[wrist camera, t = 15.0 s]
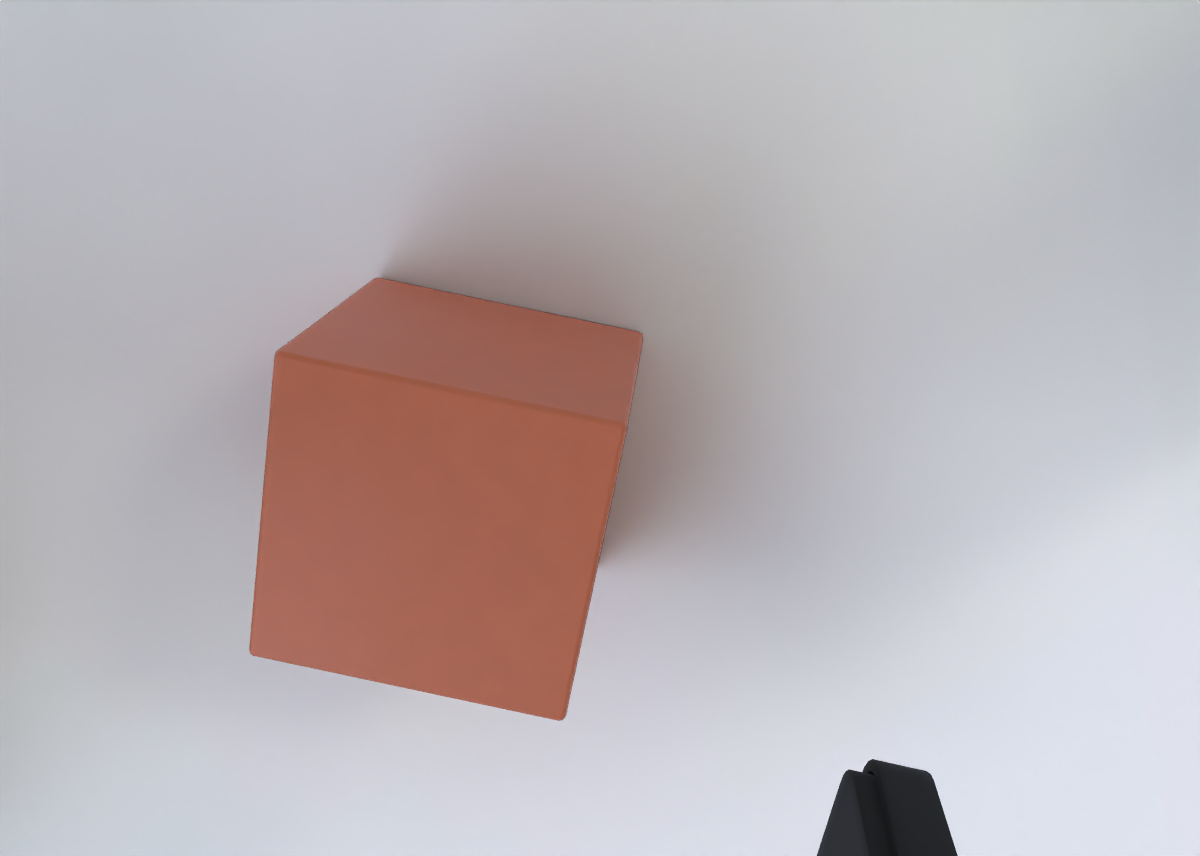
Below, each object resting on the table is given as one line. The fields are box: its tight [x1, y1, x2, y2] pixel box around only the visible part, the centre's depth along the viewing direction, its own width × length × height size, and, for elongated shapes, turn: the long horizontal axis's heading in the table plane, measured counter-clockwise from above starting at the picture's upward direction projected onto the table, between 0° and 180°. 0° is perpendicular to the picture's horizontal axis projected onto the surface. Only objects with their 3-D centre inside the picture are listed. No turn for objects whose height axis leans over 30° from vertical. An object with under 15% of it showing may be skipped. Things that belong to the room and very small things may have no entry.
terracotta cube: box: [250, 278, 643, 721], centre depth 16 cm, size 4×4×4 cm
